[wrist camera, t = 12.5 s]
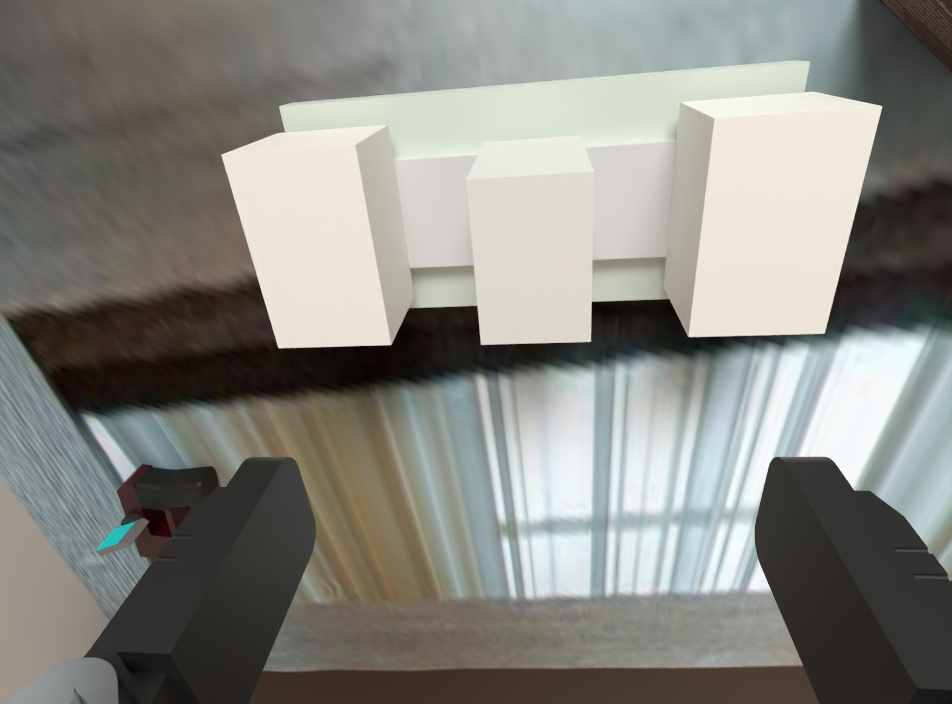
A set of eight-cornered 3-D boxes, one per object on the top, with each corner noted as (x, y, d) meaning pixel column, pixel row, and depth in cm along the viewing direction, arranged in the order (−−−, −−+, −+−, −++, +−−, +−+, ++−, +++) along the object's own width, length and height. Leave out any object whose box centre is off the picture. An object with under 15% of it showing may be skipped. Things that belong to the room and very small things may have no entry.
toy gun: (163, 565, 45) (124, 620, 41) (124, 450, 39) (74, 502, 34) (280, 580, 44) (253, 637, 40) (259, 466, 38) (225, 520, 34)
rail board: (336, 299, 31) (284, 367, 24) (292, 102, 26) (212, 125, 19) (755, 283, 28) (818, 356, 22) (794, 60, 23) (891, 70, 17)
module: (494, 279, 27) (481, 352, 21) (484, 142, 24) (465, 179, 18) (578, 276, 26) (590, 348, 20) (579, 135, 23) (594, 171, 17)
